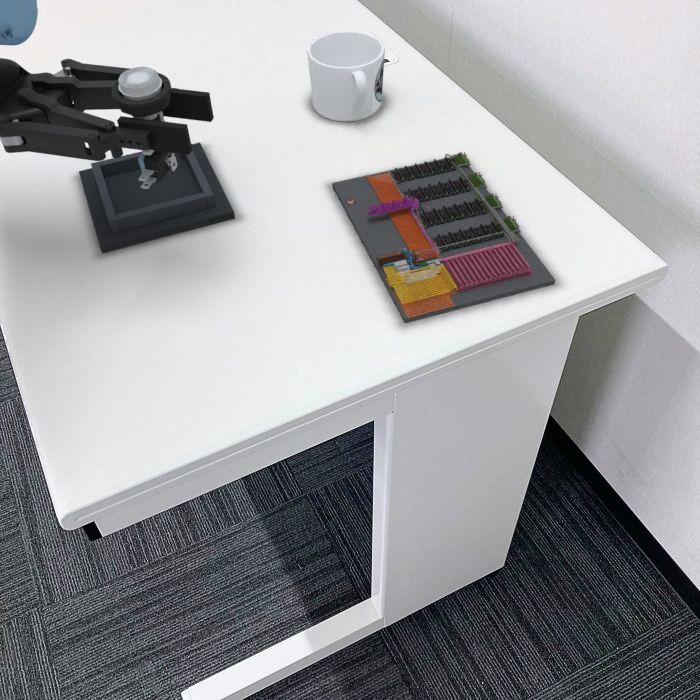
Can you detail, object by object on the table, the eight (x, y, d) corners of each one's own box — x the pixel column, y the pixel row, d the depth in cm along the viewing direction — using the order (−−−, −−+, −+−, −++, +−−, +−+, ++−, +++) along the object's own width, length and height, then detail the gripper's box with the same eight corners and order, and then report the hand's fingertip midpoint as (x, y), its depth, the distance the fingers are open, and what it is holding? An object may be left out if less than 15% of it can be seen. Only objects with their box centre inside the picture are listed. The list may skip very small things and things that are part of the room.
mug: (303, 90, 109) (299, 36, 102) (372, 79, 110) (372, 26, 104) (325, 140, 100) (322, 85, 94) (399, 127, 102) (401, 72, 96)
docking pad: (102, 253, 86) (95, 234, 84) (80, 177, 96) (74, 159, 93) (235, 218, 90) (231, 199, 87) (201, 148, 99) (197, 130, 97)
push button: (169, 197, 72) (145, 107, 64) (120, 187, 73) (90, 97, 65) (197, 155, 76) (177, 66, 68) (150, 147, 77) (125, 57, 69)
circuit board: (554, 283, 81) (559, 265, 79) (404, 323, 78) (405, 304, 76) (460, 158, 97) (462, 140, 95) (332, 186, 93) (331, 168, 91)
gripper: (36, 85, 81) (237, 108, 77) (-59, 181, 70) (170, 214, 66) (12, 17, 76) (226, 39, 72) (-97, 109, 64) (151, 141, 60)
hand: (199, 123), depth 69 cm, fingers closed on push button, 5 cm apart
